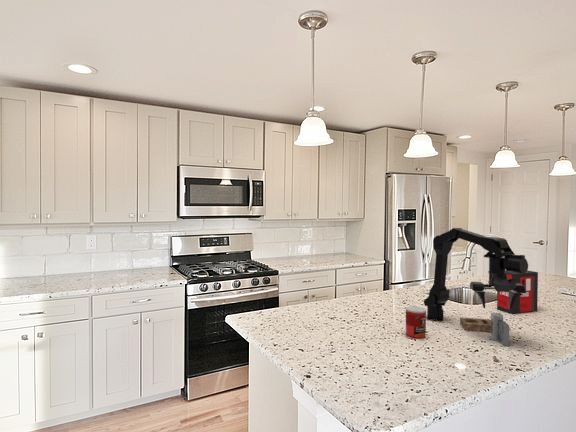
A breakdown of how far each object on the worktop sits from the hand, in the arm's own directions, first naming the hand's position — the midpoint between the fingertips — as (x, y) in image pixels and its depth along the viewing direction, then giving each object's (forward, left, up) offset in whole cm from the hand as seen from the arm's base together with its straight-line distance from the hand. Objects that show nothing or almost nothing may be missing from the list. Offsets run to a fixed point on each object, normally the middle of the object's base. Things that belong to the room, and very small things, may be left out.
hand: (496, 308), depth 143 cm
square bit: (0, 0, -12) cm, 12 cm away
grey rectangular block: (+1, -5, -12) cm, 13 cm away
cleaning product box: (+23, +47, -12) cm, 54 cm away
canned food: (-31, -4, -12) cm, 34 cm away
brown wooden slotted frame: (-4, +12, -12) cm, 17 cm away
